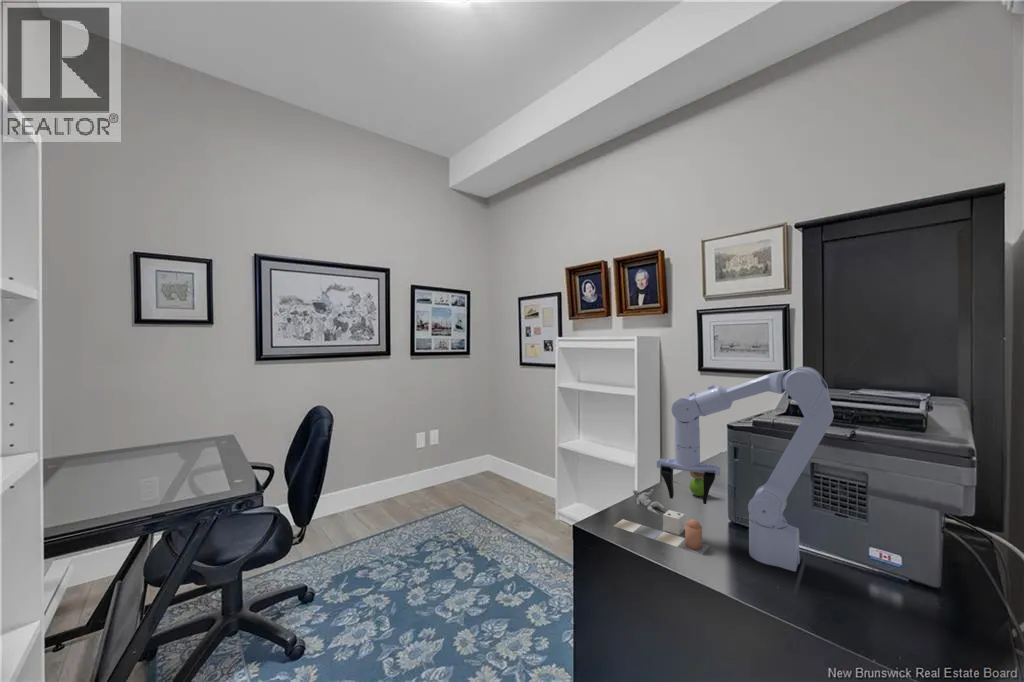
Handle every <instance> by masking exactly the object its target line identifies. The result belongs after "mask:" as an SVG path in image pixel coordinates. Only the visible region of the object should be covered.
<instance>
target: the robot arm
mask: <svg viewBox="0 0 1024 682" xmlns="http://www.w3.org/2000/svg"><path fill="white" fill-rule="evenodd" d="M828 386H829V385H828V384H827V382H826V380H825V379H824V377H823V376H822V375H821V373H820V372H819V371H817V369H815V368H813V367H809V366H800V367H796V368H795V369H792V370H791V369H786V370H781V371H777V372H775V371H774V372H772V373H769V374H765V375H762V376H759V377H757V378H756V377H755V378H754V379H751V380H748V381H746V382H743V383H739V384H738V385H735V386H732V387H729V388H728V387H724V386H722V385H717V386H715V385H714V384H712V385H708V386H707V389H705V390H702V391H699V392H697V393H695V392H694V391H693V392H690V393H689V394H688V395H689V396H685V397H680V398H678V399H677V400H676V401H674V402H673V403H672V405H671V413H672V416H673V417H674V454H675V455H674V458H675V459H673V458H657V459H656V468H657V469H660V473H661V476H662V478H663V481H664V483H665V485H666V488H667V491H668V495H669V496H668V497H669V499H671V500H672V499H674V497H675V495H674V494H675V493H674V470H677V471H686V472H689V471H692V472H700V473H704V476H703V482H704V495H703V496H702V504H703V505H707V503H708V502H707V501H708V495H709V493H710V490H711V487H712V485H713V484H714V482H715V480H716V476H718V477H721V465H716V464H712V463H711V464H710V463H707V462H706V463H705V462H701V440H700V439H701V435H700V434H701V433H700V431H701V429H700V417H707V416H710V415H713V414H716V413H720V412H722V411H726V410H728V409H731V407H732V404H733V403H734V402H735V401H739V400H742V399H745V398H749V397H753V396H756V395H759V394H763V393H767V392H770V393H774V394H780V395H782V394H784V393H785V392H786V394H787V395H788V396H789V397H790V398H792V400H794V402H795V403H797V406H798V407H799V409H800V411H801V413H802V415H803V419H802V420H801V422H800V424H799V426H797V429H796V431H794V434H793V436H792V438H791V439H790V441H789V443H788V444H787V446H786V448H785V450H784V452H783V453H782V455H781V456H780V459H779V460H778V462H777V464H776V466H774V469H773V470H772V473H771V474H770V476H769V478H768V479H767V481H766V482H765V484H763V485H761V486H759V487H758V488H757V489H756V491H755V492H754V493H755V494H754V495H753V497H752V498H751V499H750V500H749V502H748V504H747V510H748V514H749V515H748V553H749V556H750V557H751V558H752V559H754V560H755V561H757V562H760V563H761V564H764V565H769V566H773V567H779V568H782V569H784V570H788V571H791V572H797V569H798V565H799V564H800V563H801V554H800V531H799V530H800V529H799V528H798V527H795V526H793V525H790V524H788V520H787V519H786V517H785V516H784V514H783V513H784V511H785V509H786V508H787V506H788V505H787V504H788V501H787V500H788V499H787V498H788V497H789V495H790V493H791V491H792V490H793V488H794V486H795V484H796V483H797V482H798V479H799V477H800V476H801V474H802V472H803V471H804V469H805V467H806V466H807V464H808V463H809V461H810V459H811V457H812V456H813V455H814V453H815V451H816V449H817V448H818V446H819V444H820V442H821V441H822V440H823V438H824V436H825V434H827V433H826V432H827V430H828V429H829V427H830V425H831V424H832V423H833V420H834V416H835V415H834V410H833V406H832V401H831V396H830V392H829V387H828Z"/></svg>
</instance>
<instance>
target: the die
mask: <svg viewBox="0 0 1024 682" xmlns="http://www.w3.org/2000/svg"><path fill="white" fill-rule="evenodd" d="M667 510H668V511H667V512H666V511H665V513H663V515H662V518H663V519H662V531H663V532H666V533H669V534H673V535H676V536H681V534H682V533H683V532H685V524H686V522H685V521H686V520H685V513H682V512H678V511H674V510H670V509H667Z"/></svg>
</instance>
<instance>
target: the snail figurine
mask: <svg viewBox="0 0 1024 682" xmlns="http://www.w3.org/2000/svg"><path fill="white" fill-rule="evenodd" d="M688 472H689V474H690V476H691V477H692V478H693V479H692V480H691V481H690V483H689V491H690V492H691V493H692V494H694V495H695V496H698V497H703V495H704V482H703V476H704V473H700V472H692V471H688Z"/></svg>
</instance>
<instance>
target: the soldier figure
mask: <svg viewBox="0 0 1024 682" xmlns="http://www.w3.org/2000/svg"><path fill="white" fill-rule="evenodd" d="M632 493H633V496H634V498H635V499H636V504H637V505H642V506H644V507H647V510H648V511H649V512H653V513H656V514H657V515H656V516H661V514H660V513H658V512H657V511H656V510H655V509H654V508H656V507H658V508H660V509H663V511H665V513H666V512H667V511H668V510H669V509H667V507H666V506H664V505H663V504H661V503H660V502H659V501H652V500H651V499H650V496H651V495H652V494H653V493H654V489H653V488H652V489H650V491H649V492H642V493H641V491H639V490H636V489H633V490H632Z"/></svg>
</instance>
